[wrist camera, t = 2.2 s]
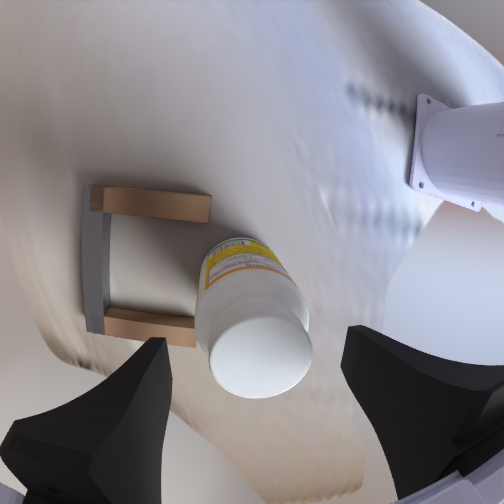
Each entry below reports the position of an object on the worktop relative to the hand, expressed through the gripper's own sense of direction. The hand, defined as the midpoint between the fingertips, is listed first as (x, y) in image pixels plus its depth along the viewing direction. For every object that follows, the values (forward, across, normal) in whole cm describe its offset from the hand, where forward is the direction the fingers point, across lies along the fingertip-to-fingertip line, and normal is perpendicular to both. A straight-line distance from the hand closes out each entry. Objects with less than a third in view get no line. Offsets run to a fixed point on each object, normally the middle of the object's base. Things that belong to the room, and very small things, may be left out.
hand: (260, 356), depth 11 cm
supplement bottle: (+9, 0, 0) cm, 9 cm away
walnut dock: (+9, +6, -1) cm, 11 cm away
